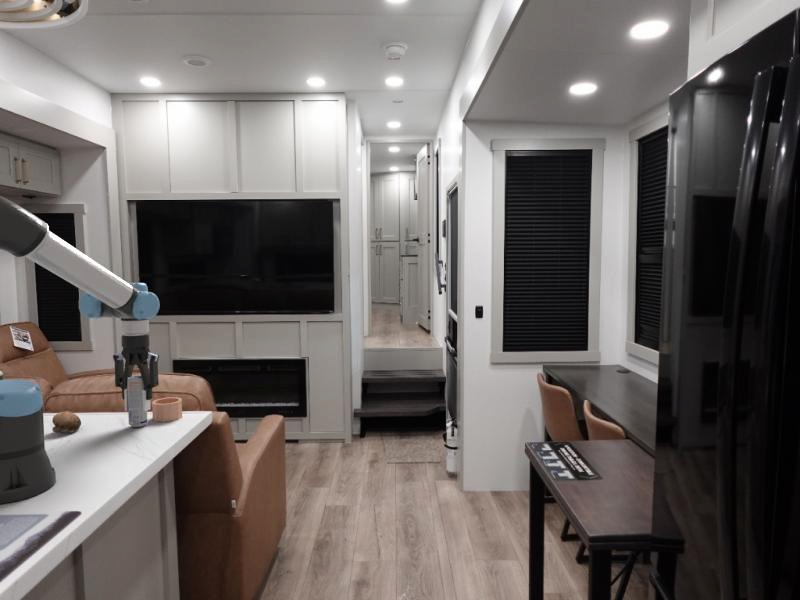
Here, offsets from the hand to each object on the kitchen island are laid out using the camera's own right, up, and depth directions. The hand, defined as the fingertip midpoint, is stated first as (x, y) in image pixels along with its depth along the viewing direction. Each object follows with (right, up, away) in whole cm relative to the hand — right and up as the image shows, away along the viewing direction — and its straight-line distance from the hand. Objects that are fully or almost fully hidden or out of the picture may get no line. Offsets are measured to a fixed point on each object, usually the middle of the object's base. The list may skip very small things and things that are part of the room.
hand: (137, 409), depth 157 cm
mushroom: (-18, -6, -4) cm, 20 cm away
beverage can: (0, -5, 0) cm, 5 cm away
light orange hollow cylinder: (+5, -4, +9) cm, 11 cm away
